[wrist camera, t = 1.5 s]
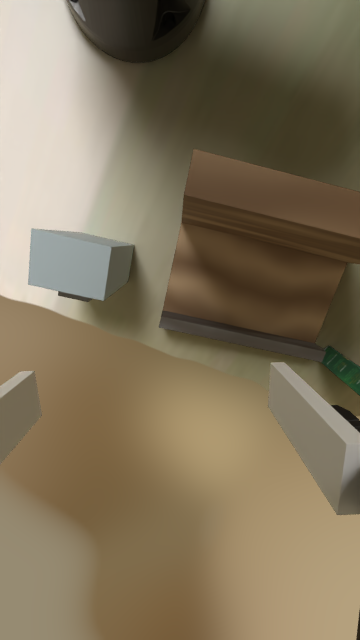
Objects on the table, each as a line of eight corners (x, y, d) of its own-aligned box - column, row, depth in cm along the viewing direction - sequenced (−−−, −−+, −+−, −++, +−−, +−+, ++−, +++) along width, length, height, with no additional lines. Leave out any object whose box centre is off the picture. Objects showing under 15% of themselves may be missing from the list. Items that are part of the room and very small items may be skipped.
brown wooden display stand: (184, 206, 33) (193, 148, 12) (346, 246, 35) (605, 255, 14) (161, 317, 37) (137, 416, 16) (306, 348, 39) (455, 476, 18)
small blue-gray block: (81, 232, 34) (31, 228, 23) (134, 244, 35) (111, 246, 23) (76, 277, 36) (27, 294, 24) (126, 288, 36) (102, 311, 25)
